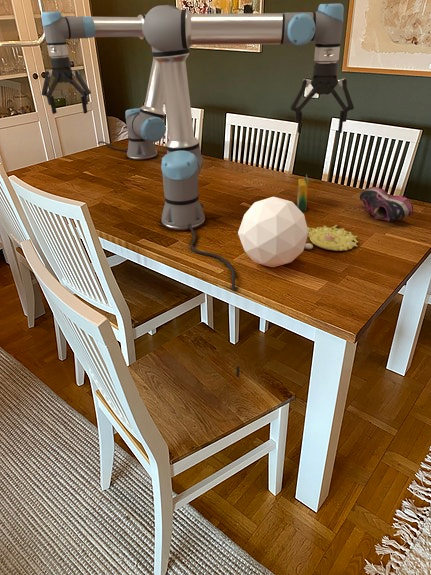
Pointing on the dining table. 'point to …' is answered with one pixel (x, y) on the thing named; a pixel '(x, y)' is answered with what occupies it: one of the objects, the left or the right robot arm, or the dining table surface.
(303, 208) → the crayon box
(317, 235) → the decorative object
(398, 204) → the athletic shoe
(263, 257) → the sphere
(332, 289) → the dining table surface
